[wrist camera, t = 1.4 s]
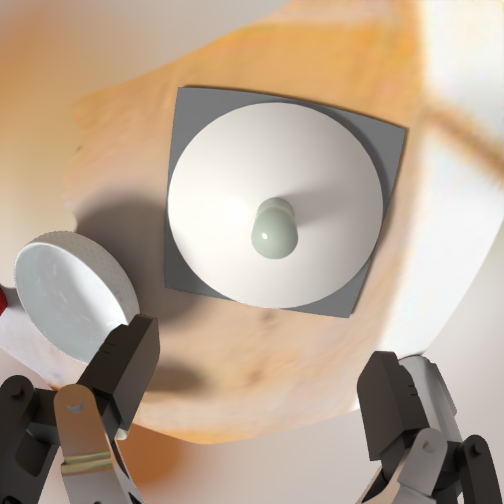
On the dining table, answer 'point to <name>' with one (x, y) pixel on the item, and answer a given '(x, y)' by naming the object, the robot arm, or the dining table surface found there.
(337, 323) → the dining table surface
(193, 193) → the lid
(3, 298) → the plastic cup
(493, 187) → the dining table surface
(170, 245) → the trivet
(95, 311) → the cereal bowl
